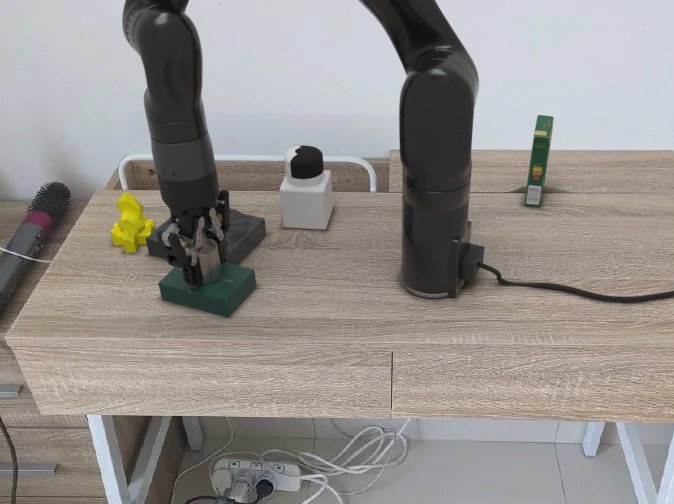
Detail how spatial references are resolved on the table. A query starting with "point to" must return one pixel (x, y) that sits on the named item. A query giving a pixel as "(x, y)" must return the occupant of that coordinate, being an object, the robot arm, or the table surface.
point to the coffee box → (539, 160)
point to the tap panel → (210, 290)
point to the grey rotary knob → (208, 261)
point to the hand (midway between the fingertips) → (205, 272)
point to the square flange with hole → (235, 240)
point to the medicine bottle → (306, 189)
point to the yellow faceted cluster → (131, 224)
